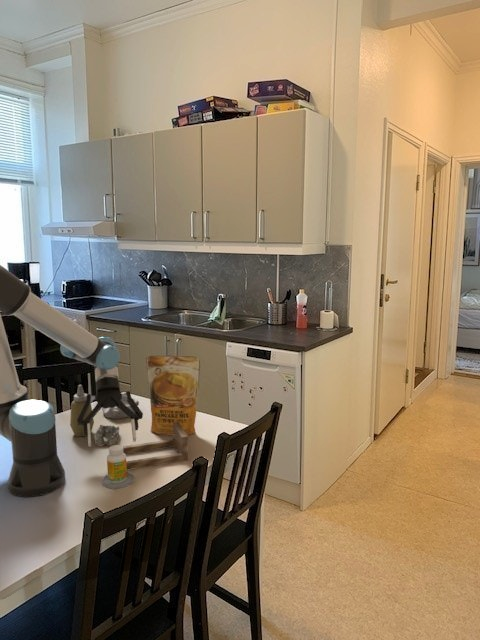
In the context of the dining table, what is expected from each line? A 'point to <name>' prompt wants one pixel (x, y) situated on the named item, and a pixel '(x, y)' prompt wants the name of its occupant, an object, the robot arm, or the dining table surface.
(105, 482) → the coaster
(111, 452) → the supplement bottle
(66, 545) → the dining table surface
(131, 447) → the lane rack
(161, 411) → the pancake mix bag
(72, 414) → the squeeze bottle
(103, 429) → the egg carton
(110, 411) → the dish
